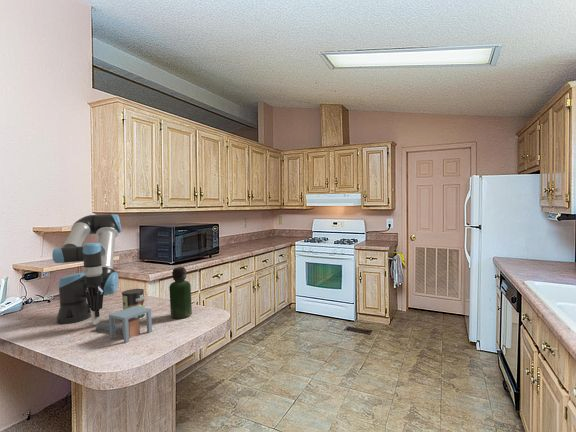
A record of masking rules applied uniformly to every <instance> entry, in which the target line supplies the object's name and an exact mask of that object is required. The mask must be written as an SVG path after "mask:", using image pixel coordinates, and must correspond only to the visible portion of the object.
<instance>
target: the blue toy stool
mask: <svg viewBox="0 0 576 432" xmlns="http://www.w3.org/2000/svg"><path fill="white" fill-rule="evenodd" d="M144 313H145V319H146V332H147V333H148V334H150V333H152V332H153V325H152V324H153V323H152V322H153V321H152V308H148V307H145V308H143V307H138V306H134V307H131V308H128V309H125V310H123V309H121V310H119V311H116V312H112V313H110V314H108V323H109V328H110V332H109V339H111V340H113V339H116V333H115V324H116V322H115V319H117V320H121V321H123V334H122V336H123V335H124V336H123V342H124V343H128V342H130V338H129V325H128V319H130V318H133V317H134V318H138V316H139V315H141V314H144Z"/></svg>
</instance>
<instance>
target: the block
mask: <svg viewBox="0 0 576 432" xmlns="http://www.w3.org/2000/svg"><path fill="white" fill-rule="evenodd" d="M140 322H141V321H140V320H139V318H134V317H133V318H130V319H128V325H129V339H131V338H134V337H136V336H138V335H140V334H141V326H140V325H141V323H140ZM121 324H122V330H123V320H121ZM122 337H124V335H123V334H122Z"/></svg>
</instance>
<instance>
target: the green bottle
mask: <svg viewBox="0 0 576 432" xmlns="http://www.w3.org/2000/svg"><path fill="white" fill-rule="evenodd" d="M171 273H172V278H173V280H174V281H173V282H172V283H170V284H169V287H168V291H169V303H170V304H169V306H170V317H171V318H172V319H175V320H177V319H179V320H181V319H185V318H188V317H190V316H191V315H193V312H192V311H193V310H192V292H191V290H192V288H191V286H192V285H191V283H190V282H189V281H188V280H186V279H187V270H186V268H185V267H183V266H177V267H174V268H173V269H172V272H171Z"/></svg>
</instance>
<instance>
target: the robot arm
mask: <svg viewBox="0 0 576 432" xmlns="http://www.w3.org/2000/svg"><path fill="white" fill-rule="evenodd" d="M120 220H121V219H120V215H118V214H115V213H110V214H90V215H86V216H83V217H81V218H79V219H78V220H76V221H75V222H74V223H73V224H72V225H71V228H70V231H71V232H70V233H69V235H68V237H67V238H66V240H65V242H64V244H63V245H62V247H55V248H54V249H53V250H52V254H51V256H52V260H53V263H55V264H66V263H77V262H78V263H79V262H83V272H77V273H75V272H74V273H73V274H72V273H71V274H68V275H64V276H62V277H60V278H59V280H58V293H59V296H58V297H59V307H58V308H59V309H58V312H57V315H56V323H57V324H60V325H61V324H63V325H65V324H73V323H77V322H81V321H84V320H87V319H89V318H91V323H92V325H97V324H99V323H101V322H100V310H101V309H103V304H104V296H109V295H114V294H115V293H116V292H117V289H118V288H119V287H118V285H119V274H118V272H116V269H114V257H115V256H114V255H115V244H116V243H115V242H116V237H118V236H119V234H121V233H122V225H121V221H120ZM89 235H96V237H98V239H97V240H98V241H97V242H89V243H84V241H85V239H86V237H88V236H89ZM83 243H84V244H83Z"/></svg>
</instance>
